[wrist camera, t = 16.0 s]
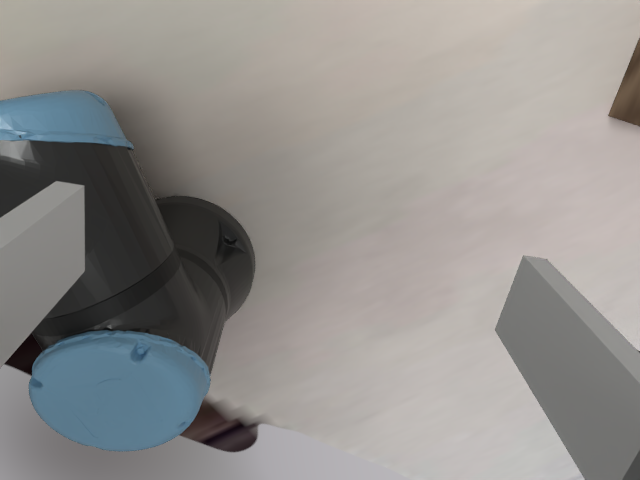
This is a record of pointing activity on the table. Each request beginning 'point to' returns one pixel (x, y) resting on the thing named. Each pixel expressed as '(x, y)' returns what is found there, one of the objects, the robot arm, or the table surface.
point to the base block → (629, 93)
